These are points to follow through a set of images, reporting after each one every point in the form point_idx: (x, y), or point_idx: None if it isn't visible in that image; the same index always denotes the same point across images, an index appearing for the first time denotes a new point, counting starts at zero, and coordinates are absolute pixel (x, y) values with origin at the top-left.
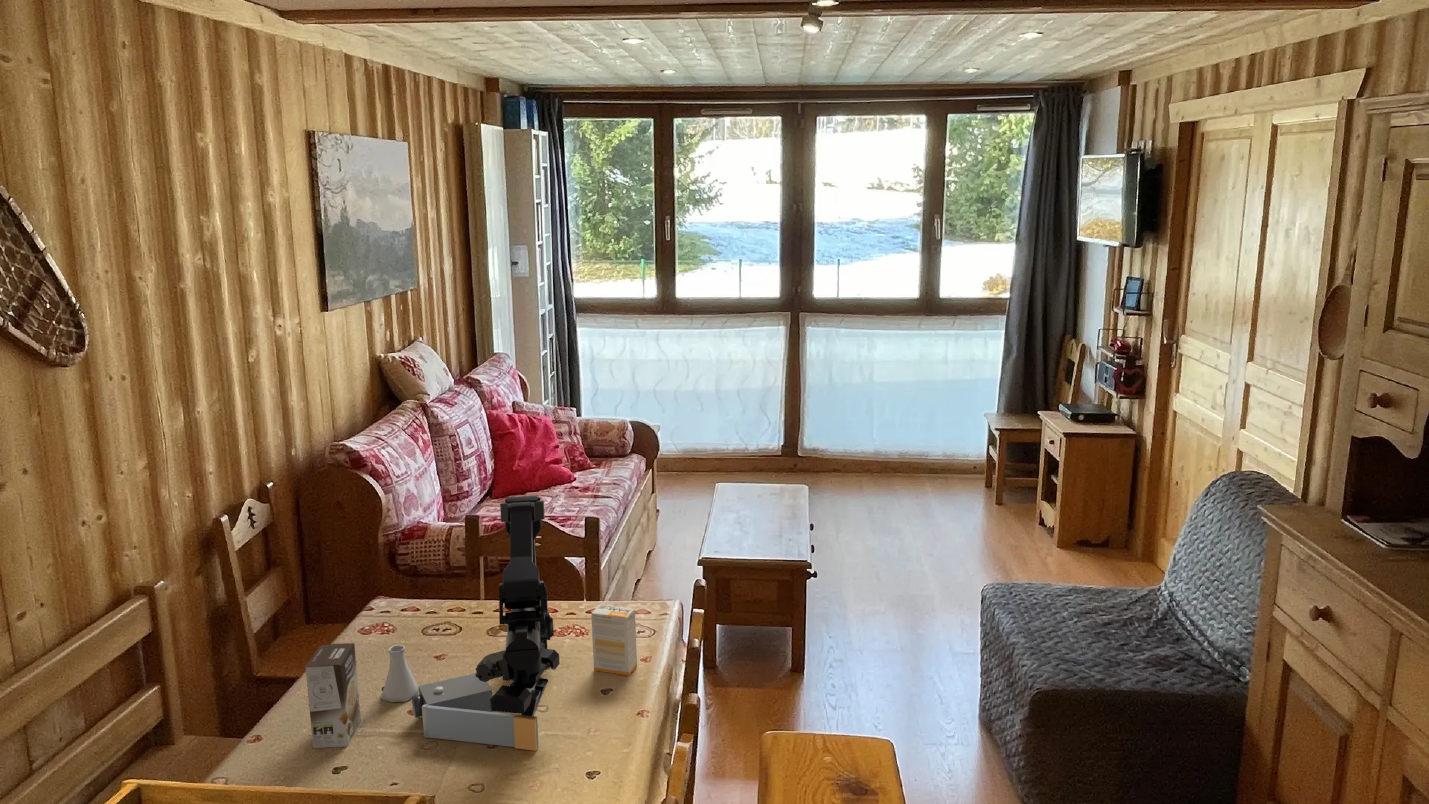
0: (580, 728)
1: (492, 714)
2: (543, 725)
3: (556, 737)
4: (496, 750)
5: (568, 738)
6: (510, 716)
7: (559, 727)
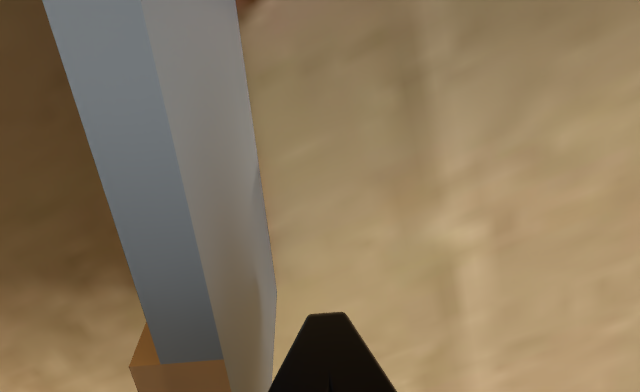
0: (529, 388)
1: (51, 13)
2: (557, 203)
3: (419, 324)
4: None
5: (419, 376)
6: (148, 318)
7: (535, 297)
